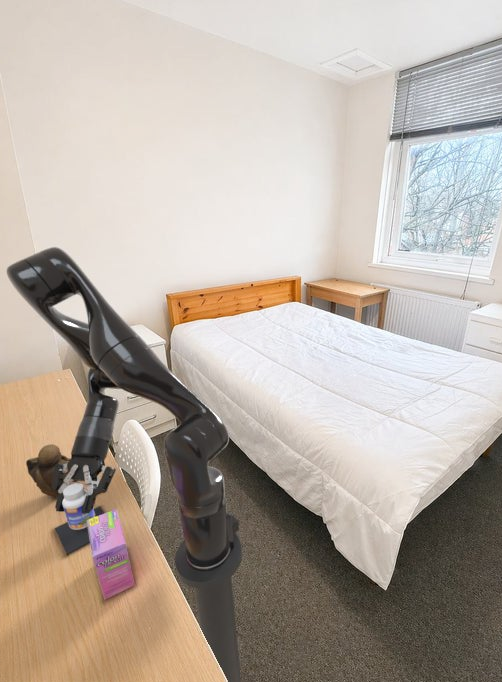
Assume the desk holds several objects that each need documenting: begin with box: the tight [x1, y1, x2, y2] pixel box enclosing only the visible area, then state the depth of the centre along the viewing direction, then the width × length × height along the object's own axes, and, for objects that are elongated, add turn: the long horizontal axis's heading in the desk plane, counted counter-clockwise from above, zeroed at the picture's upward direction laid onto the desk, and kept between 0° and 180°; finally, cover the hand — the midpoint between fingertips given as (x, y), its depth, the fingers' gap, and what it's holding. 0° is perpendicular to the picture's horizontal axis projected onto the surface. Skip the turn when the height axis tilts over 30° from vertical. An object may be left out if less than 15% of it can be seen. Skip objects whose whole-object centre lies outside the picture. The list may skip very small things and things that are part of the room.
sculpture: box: [25, 443, 72, 498], centre depth 91 cm, size 11×11×15 cm
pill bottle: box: [62, 482, 95, 530], centre depth 81 cm, size 5×5×10 cm
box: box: [87, 509, 135, 601], centre depth 71 cm, size 10×6×12 cm, turn 34°
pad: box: [54, 506, 106, 556], centre depth 83 cm, size 10×10×1 cm
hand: (73, 512), depth 79 cm, fingers closed on pill bottle, 5 cm apart
